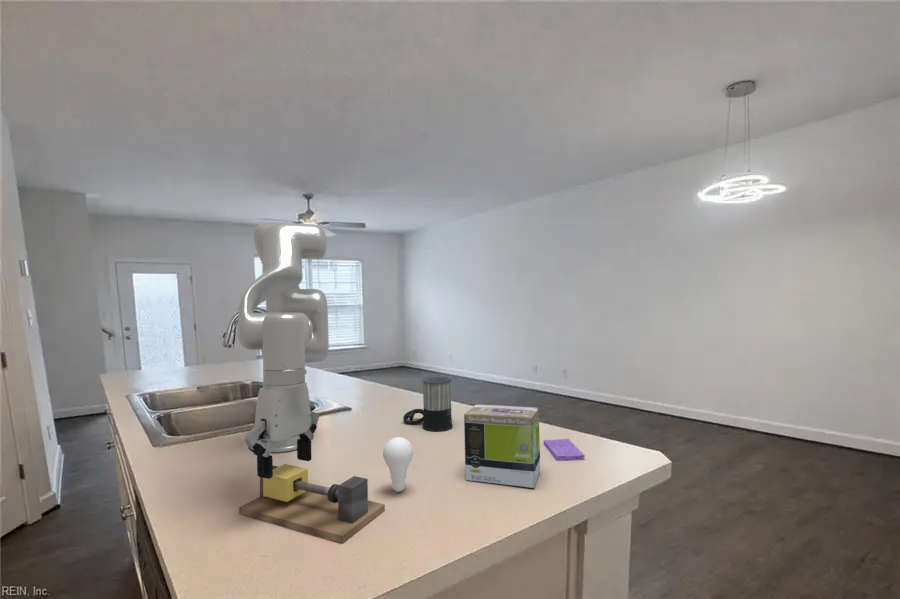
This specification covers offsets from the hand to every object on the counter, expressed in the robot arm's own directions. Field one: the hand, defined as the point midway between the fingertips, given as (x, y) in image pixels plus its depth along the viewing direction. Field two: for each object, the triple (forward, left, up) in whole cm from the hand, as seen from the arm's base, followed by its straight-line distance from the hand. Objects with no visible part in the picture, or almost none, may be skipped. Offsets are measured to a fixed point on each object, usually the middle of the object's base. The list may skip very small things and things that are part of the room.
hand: (285, 468), depth 84 cm
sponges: (+42, +51, -8) cm, 67 cm away
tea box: (+33, +30, -8) cm, 46 cm away
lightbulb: (+16, +14, -8) cm, 23 cm away
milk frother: (-1, +58, -8) cm, 59 cm away
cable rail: (+6, 0, -7) cm, 10 cm away
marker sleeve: (0, 0, -5) cm, 5 cm away
